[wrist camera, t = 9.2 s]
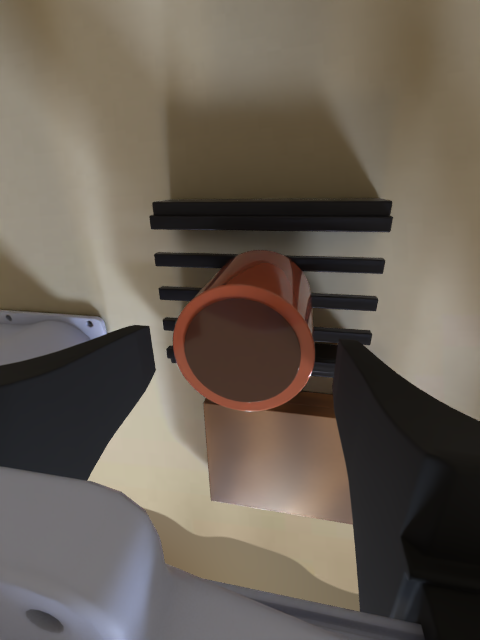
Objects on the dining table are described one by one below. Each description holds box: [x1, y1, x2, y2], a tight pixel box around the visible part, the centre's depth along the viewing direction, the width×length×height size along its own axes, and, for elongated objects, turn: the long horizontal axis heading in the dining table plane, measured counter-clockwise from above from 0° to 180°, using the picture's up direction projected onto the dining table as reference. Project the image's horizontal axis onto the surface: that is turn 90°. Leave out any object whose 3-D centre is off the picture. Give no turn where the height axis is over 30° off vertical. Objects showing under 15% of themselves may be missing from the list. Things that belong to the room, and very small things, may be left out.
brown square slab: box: [203, 391, 353, 525], centre depth 23 cm, size 12×10×2 cm
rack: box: [150, 198, 393, 378], centre depth 18 cm, size 12×10×3 cm
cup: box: [173, 250, 315, 411], centre depth 14 cm, size 5×5×6 cm
